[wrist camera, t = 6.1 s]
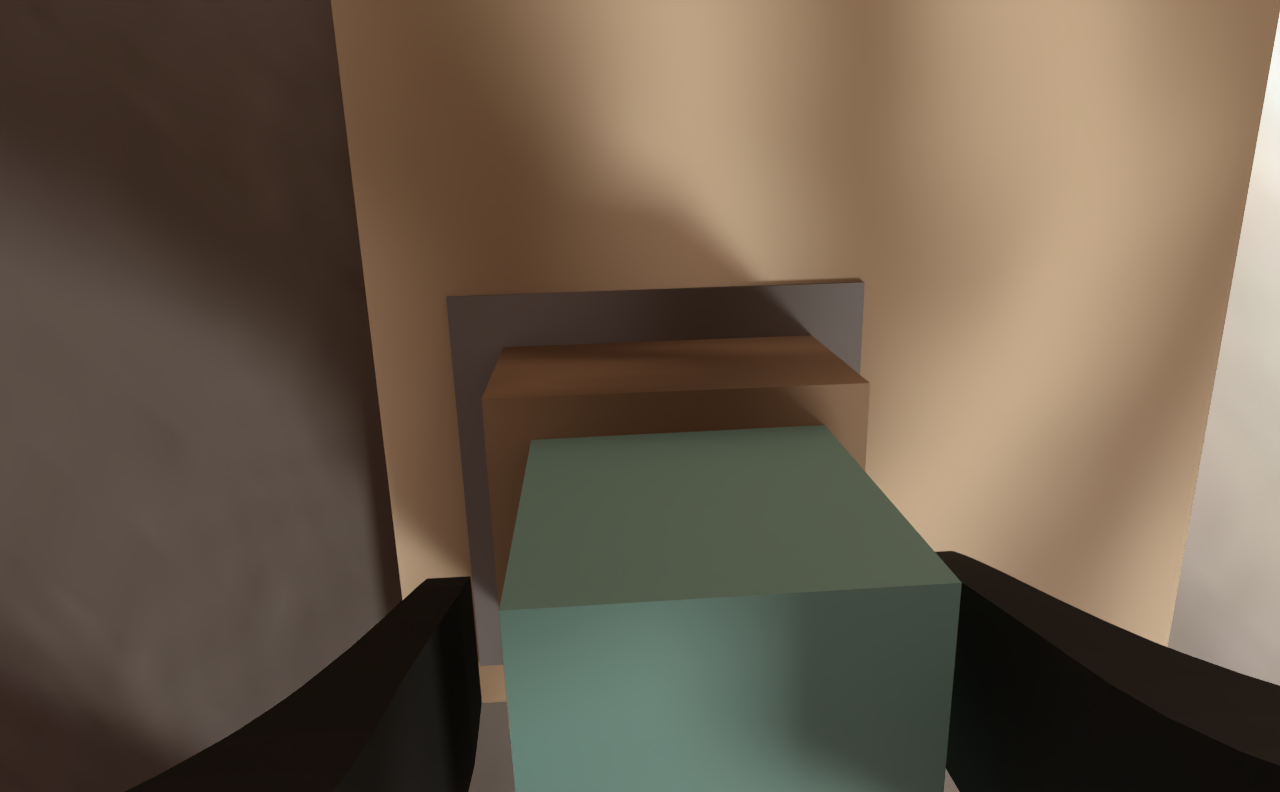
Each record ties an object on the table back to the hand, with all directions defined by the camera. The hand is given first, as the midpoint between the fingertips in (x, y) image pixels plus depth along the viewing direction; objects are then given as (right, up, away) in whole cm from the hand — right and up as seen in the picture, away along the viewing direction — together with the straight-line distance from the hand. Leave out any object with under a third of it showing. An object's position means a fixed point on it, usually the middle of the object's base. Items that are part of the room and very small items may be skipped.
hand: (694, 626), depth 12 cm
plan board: (+3, +4, +5) cm, 7 cm away
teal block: (0, +1, +2) cm, 2 cm away
